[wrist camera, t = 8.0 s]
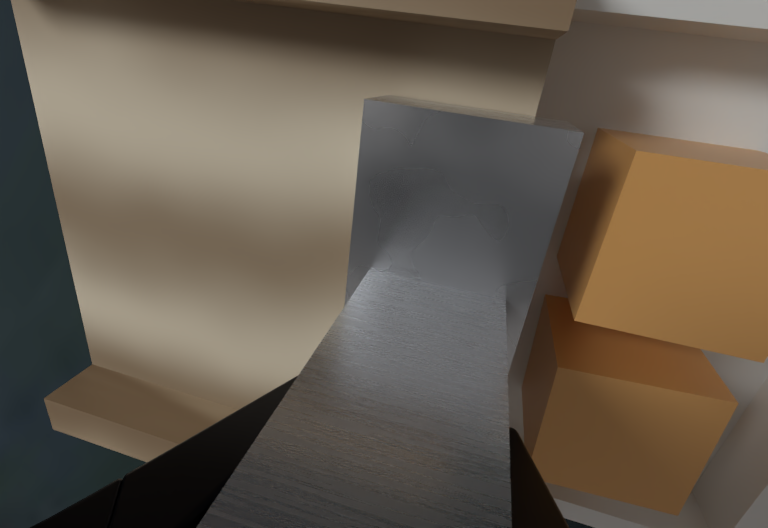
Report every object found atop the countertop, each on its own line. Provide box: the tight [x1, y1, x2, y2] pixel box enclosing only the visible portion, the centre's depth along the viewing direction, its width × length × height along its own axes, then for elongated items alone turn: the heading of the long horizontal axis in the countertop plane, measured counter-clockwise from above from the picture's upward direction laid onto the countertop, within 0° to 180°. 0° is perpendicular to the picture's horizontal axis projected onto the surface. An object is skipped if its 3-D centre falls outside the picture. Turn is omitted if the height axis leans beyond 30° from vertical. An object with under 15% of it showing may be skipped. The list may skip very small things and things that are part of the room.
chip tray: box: [508, 0, 768, 528], centre depth 13 cm, size 16×10×3 cm, turn 173°
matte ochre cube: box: [522, 294, 739, 516], centre depth 13 cm, size 4×4×4 cm
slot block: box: [11, 0, 577, 462], centre depth 14 cm, size 16×14×6 cm
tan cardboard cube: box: [557, 128, 768, 363], centre depth 11 cm, size 4×4×4 cm
